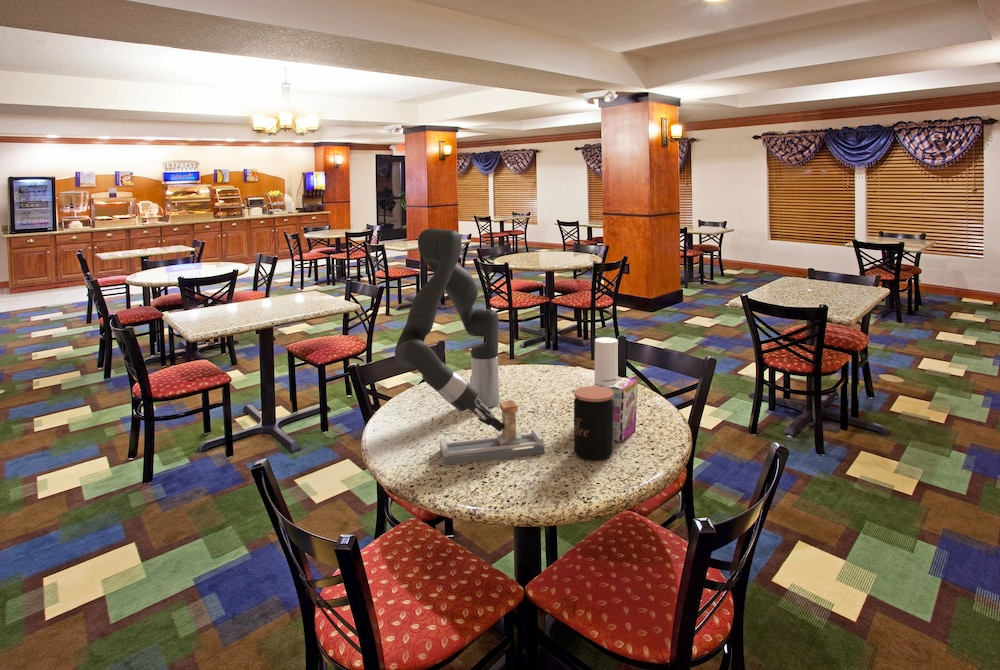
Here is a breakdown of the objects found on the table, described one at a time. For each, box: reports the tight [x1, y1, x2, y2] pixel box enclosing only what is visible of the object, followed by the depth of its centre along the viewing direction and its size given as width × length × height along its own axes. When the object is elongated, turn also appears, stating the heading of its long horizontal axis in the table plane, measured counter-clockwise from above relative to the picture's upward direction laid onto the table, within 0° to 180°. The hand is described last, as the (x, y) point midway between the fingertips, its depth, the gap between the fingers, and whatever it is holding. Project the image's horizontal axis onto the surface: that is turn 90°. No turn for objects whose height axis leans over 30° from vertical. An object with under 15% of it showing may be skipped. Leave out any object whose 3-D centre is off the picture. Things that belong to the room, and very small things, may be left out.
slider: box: [496, 400, 522, 446], centre depth 170 cm, size 6×5×12 cm
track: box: [439, 427, 546, 466], centre depth 170 cm, size 28×10×4 cm, turn 102°
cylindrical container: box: [593, 336, 619, 388], centre depth 193 cm, size 7×7×25 cm
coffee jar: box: [573, 385, 614, 462], centre depth 166 cm, size 11×11×18 cm
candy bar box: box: [608, 377, 639, 443], centre depth 178 cm, size 11×5×16 cm, turn 145°
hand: (501, 428), depth 169 cm, fingers closed
